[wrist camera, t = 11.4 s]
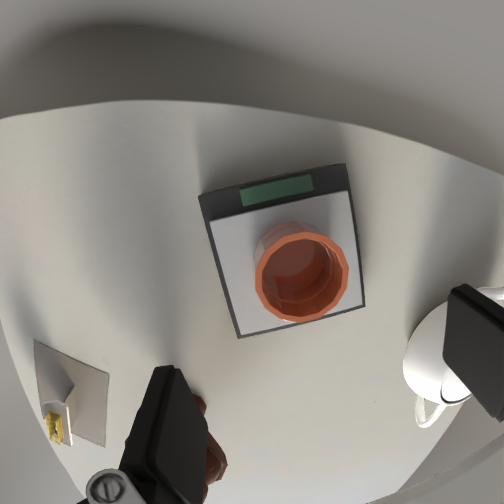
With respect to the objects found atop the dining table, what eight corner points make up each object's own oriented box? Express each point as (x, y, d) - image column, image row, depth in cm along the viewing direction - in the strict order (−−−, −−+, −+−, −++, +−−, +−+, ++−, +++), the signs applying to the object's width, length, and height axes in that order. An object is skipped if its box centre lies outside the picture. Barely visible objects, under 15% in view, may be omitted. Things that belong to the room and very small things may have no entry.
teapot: (433, 397, 36) (465, 441, 26) (365, 395, 34) (394, 453, 24) (499, 266, 31) (552, 294, 20) (438, 239, 29) (502, 268, 19)
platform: (43, 418, 35) (28, 443, 28) (33, 339, 31) (7, 364, 24) (105, 447, 36) (94, 476, 30) (109, 374, 32) (90, 408, 26)
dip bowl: (243, 230, 25) (243, 245, 20) (323, 212, 25) (342, 222, 20) (260, 303, 27) (265, 331, 22) (335, 285, 27) (353, 308, 22)
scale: (201, 193, 27) (196, 196, 24) (337, 163, 27) (348, 163, 24) (237, 327, 31) (237, 343, 28) (357, 297, 30) (368, 310, 27)
